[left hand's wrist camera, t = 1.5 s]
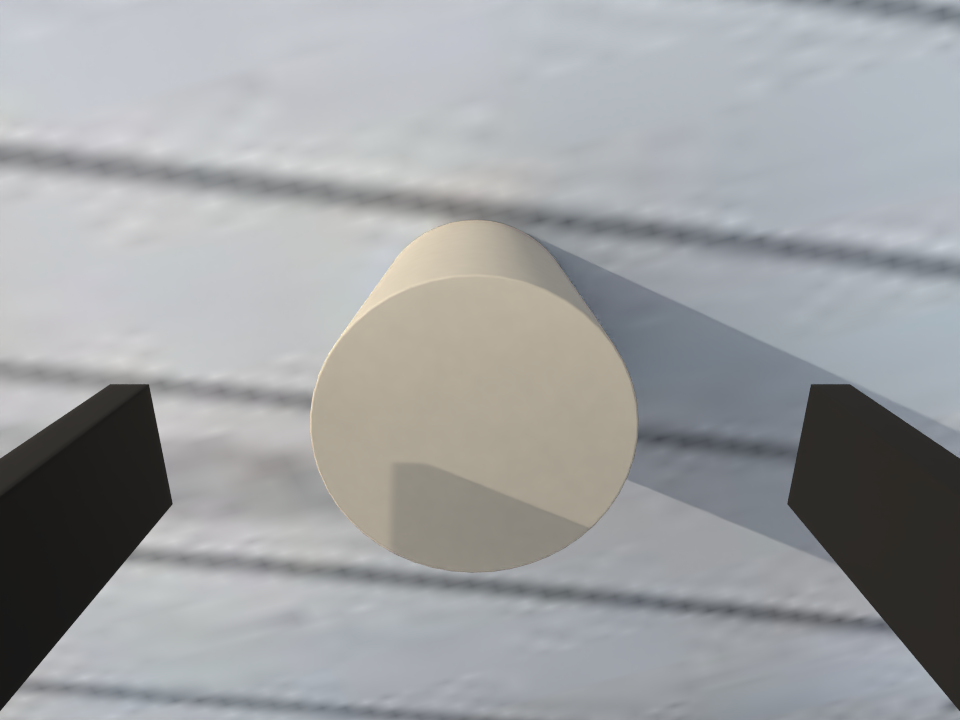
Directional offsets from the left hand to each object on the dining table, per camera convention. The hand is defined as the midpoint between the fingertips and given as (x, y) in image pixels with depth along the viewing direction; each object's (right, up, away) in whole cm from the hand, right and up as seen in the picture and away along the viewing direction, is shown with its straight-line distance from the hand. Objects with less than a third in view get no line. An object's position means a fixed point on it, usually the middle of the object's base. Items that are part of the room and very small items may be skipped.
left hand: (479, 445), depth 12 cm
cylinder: (0, +3, +10) cm, 11 cm away
